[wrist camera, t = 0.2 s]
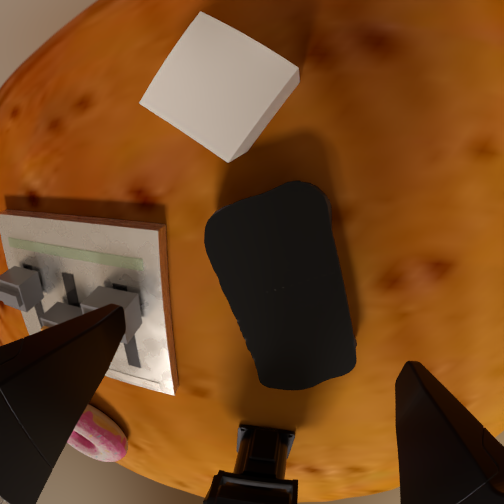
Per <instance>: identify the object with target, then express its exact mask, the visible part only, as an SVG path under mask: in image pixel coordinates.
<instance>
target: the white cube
mask: <svg viewBox="0 0 504 504" xmlns="http://www.w3.org/2000/svg"><path fill="white" fill-rule="evenodd" d="M299 83H300V77H299V68H298V67H297V66H295V65H294V64H292V63H291V62H289V61H288V60H286V59H285V58H283V57H282V56H280V55H278V54H277V53H275V52H274V51H272V50H270V49H269V48H267V47H265V46H264V45H262V44H260V43H259V42H257V41H255V40H254V39H252V38H250V37H248V36H247V35H245V34H243V33H241V32H240V31H238V30H236V29H234V28H232V27H230V26H229V25H227V24H225V23H223V22H221V21H219V20H217V19H215V18H213V17H211V16H209V15H207V14H205V13H203V12H201V11H200V12H199V14H198V15H197V16H196V18H195V19H194V20H193V22H192V23H191V24H190V26H189V27H188V28H187V30H186V31H185V33H184V34H183V35H182V37H181V38H180V40H179V41H178V42H177V44H176V45H175V47H174V48H173V50H172V51H171V53H170V54H169V56H168V57H167V59H166V60H165V62H164V63H163V65H162V66H161V68H160V69H159V71H158V73H157V74H156V76H155V77H154V79H153V81H152V82H151V84H150V86H149V87H148V89H147V91H146V92H145V94H144V96H143V97H142V99H141V101H140V103H139V104H141V105H142V106H144V107H145V108H147V109H148V110H150V111H152V112H153V113H155V114H156V115H158V116H159V117H161V118H162V119H164V120H165V121H167V122H169V123H170V124H172V125H173V126H175V127H176V128H178V129H179V130H181V131H182V132H184V133H185V134H187V135H188V136H190V137H191V138H193V139H194V140H196V141H197V142H198V143H200V144H201V145H203V146H204V147H206V148H207V149H209V150H210V151H212V152H213V153H215V154H216V155H217V156H219V157H220V158H222V159H223V160H225V161H226V162H227V163H229V162H231V161H232V160H234V159H236V158H237V157H239V156H241V155H243V154H244V153H246V152H248V150H249V149H250V148H251V146H252V145H253V143H254V142H255V141H256V139H257V138H258V137H259V135H260V134H261V133H262V131H263V130H264V128H265V127H266V126H267V124H268V123H269V122H270V120H271V119H272V118H273V116H274V115H275V114H276V112H277V111H278V110H279V109H280V107H281V106H282V105H283V103H284V102H285V101H286V99H287V98H288V97H289V95H290V94H291V93H292V92H293V90H294V89H295V88H296V86H297V85H298V84H299Z"/></svg>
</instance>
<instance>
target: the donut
mask: <svg viewBox="0 0 504 504" xmlns="http://www.w3.org/2000/svg"><path fill="white" fill-rule="evenodd" d="M67 443H68V444H70V445H71V446H72V447H74V448H75V449H77V450H78V451H80V452H82V453H83V454H85V455H87V456H89V457H91V458H94V459H97V460H100V461H105V462H110V461H111V462H112V461H118V460H120V459H121V458H123V457H124V456H125V455H126V453H127V450H128V442H127V438H126V436H125V435H124V433H123V431H122V430H121V429H120V427H119V426H118V425H117V424H116V423H115V422H114V421H113V420H112V419H110V418H109V417H108V416H107V415H105V414H104V413H103V412H101V411H100V410H98V409H96V408H95V407H93V406H91V405H89V404H88V405H87V407H86V409H85V410H84V412H83V414H82V416H81V417H80V419H79V421H78V423H77V425H76V426H75V428H74V430H73V432H72V434H71V436H70V437H69V439H68V441H67Z"/></svg>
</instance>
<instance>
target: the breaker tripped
mask: <svg viewBox="0 0 504 504" xmlns="http://www.w3.org/2000/svg"><path fill="white" fill-rule="evenodd" d="M82 314H83V313H82V309H81V308H79V307H76V306H72V305H68V304H65V303H61V302H58V301H57V302H56V303H55V304H54V305H53V306H52V307H51V308H50V309H49V310H48V311H46V312H45V313H44V314H43V315H42V316H41V317H40V319H41V322H42V325H43V327H42V328H41V331H42V330H44V329H47V328H49V327H52V326H54V325H57V324H60V323H62V322H65V321H67V320H70V319H72V318H75V317H77V316H80V315H82Z"/></svg>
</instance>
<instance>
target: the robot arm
mask: <svg viewBox="0 0 504 504" xmlns="http://www.w3.org/2000/svg"><path fill="white" fill-rule="evenodd" d="M125 331H126V323H125V313H124V308H123V307H122V306H120V305H117V304H113V303H111V304H108V305H105V306H103V307H100V308H98V309H95V310H93V311H90V312H88V313H85V314H82V315H80V316H77V317H75V318H72V319H70V320H67V321H65V322H62V323H60V324H57V325H54V326H52V327H49V328H47V329H44V330H42V331H39V332H37V333H34V334H32V335H29V336H27V337H24V339H23V338H21V339H19V340H16V341H14V342H11V343H9V344H6V345H3V346H0V504H2V502H3V501H5V502H7V503H8V504H36V502H37V500H38V498H39V496H40V494H41V492H42V490H43V488H44V486H45V484H46V482H47V480H48V478H49V476H50V474H51V472H52V469H53V468H54V466H55V464H56V462H57V460H58V458H59V456H60V454H61V452H62V450H63V449H64V447H65V445H66V443H67V441H68V439H69V437H70V436H71V434H72V432H73V430H74V428H75V426H76V425H77V423H78V421H79V419H80V417H81V416H82V414H83V412H84V410H85V409H86V407H87V405H88V403H89V402H90V400H91V398H92V396H93V395H94V393H95V391H96V390H97V388H98V386H99V384H100V383H101V381H102V379H103V378H104V376H105V374H106V372H107V371H108V369H109V367H110V365H111V362H112V360H113V358H114V356H115V354H116V351H117V349H118V347H119V345H120V343H121V340H122V338H123V336H124V334H125ZM395 399H396V435H397V446H398V459H399V474H400V497H401V504H504V446H502V444H500V443H499V442H498V441H497V440H496V439H495V438H494V437H493V436H492V435H491V434H490V432H489V431H488V430H487V429H486V428H483V425H482V424H481V423H480V422H479V421H478V420H477V419H476V418H475V417H474V416H473V415H472V414H471V413H470V412H469V411H468V410H467V409H466V408H465V407H464V406H463V405H462V404H461V403H460V402H459V401H458V400H457V399H456V398H455V397H454V396H453V395H452V394H451V393H450V392H449V391H448V390H447V389H446V388H445V387H444V386H443V385H442V384H441V383H440V382H439V381H438V380H437V379H436V378H435V377H434V376H433V375H432V374H431V373H430V372H429V371H428V370H427V369H426V368H425V367H424V366H423V365H422V364H421V363H420V362H418V361H407V362H406V363H405V365H404V367H403V369H402V370H401V372H400V374H399V376H398V377H397V380H396V383H395ZM294 438H295V432H293V431H284V430H276V429H268V428H261V427H254V426H247V425H239V428H238V439H237V452H238V455H237V459H236V464H235V468H234V472H233V473H229V472H224V471H222V470H219V472H218V475H214V477H213V481H212V484H211V487H210V489H209V491H208V493H207V495H206V497H205V499H204V501H203V504H297V496H298V480H294V479H293V480H284V477H285V469H286V460H287V458H288V456H289V453H290V450H291V447H292V444H293V441H294Z"/></svg>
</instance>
